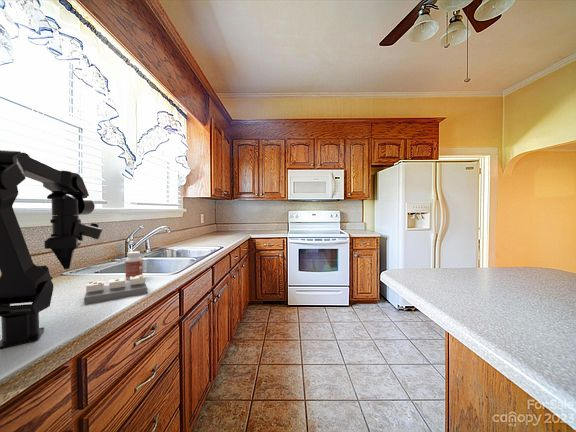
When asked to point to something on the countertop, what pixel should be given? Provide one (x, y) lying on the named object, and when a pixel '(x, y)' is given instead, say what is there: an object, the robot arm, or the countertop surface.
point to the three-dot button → (95, 286)
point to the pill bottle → (133, 264)
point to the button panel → (115, 292)
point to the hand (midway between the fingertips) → (67, 268)
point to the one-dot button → (117, 283)
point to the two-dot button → (137, 279)
